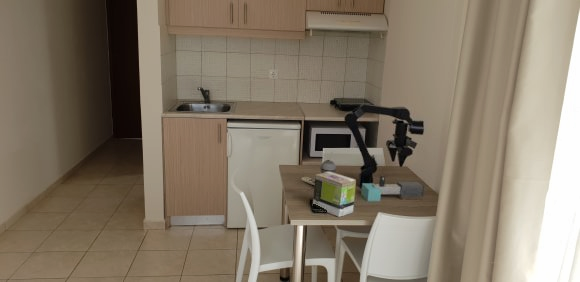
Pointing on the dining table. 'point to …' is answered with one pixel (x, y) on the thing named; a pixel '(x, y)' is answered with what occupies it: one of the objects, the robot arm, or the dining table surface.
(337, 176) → the tea box
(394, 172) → the dining table surface
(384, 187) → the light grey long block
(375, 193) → the socket block
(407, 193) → the sleeve
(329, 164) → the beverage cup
